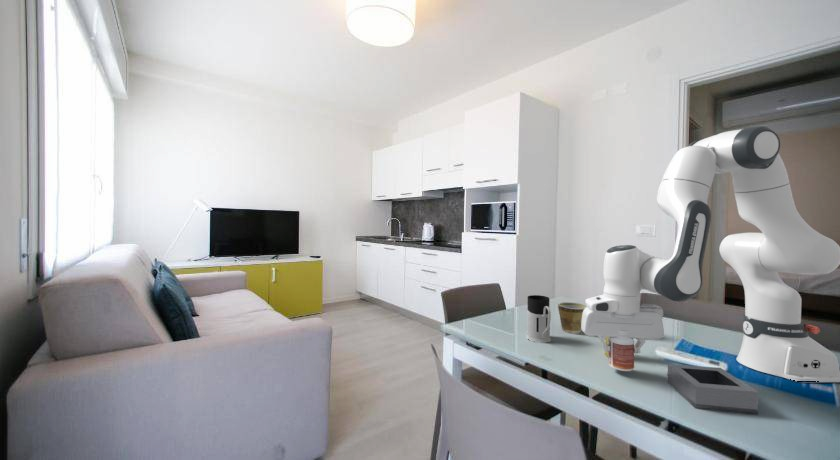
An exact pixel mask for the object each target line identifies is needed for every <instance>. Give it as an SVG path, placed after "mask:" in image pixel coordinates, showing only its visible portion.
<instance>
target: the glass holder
mask: <svg viewBox="0 0 840 460" xmlns="http://www.w3.org/2000/svg"><path fill="white" fill-rule="evenodd" d="M551 313H552V312H551V309H550V297H549V296H546V295H540V294H538V295H537V294H535V295H534V294H533V295H531V294H530V295H528V296H527V309H526V335H525V339H526V338H527V339H529V340H532V341H535V342H534V343H537V342H540V343H539V344H546V342H547V343H549V342H551V341H552V338H551V336H550V334H551V331H550V329H551V326H550V325H551V318H552V317H551V316H552V315H551ZM527 339H526V340H527ZM529 340H528V341H529ZM532 341H531V342H532Z"/></svg>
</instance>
